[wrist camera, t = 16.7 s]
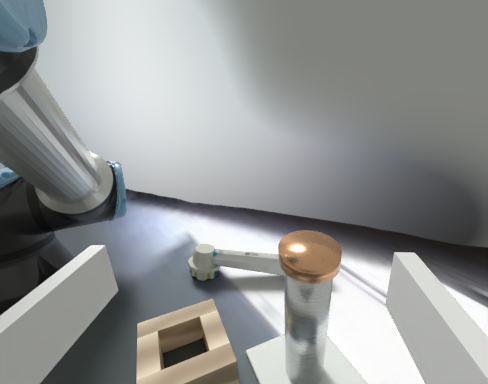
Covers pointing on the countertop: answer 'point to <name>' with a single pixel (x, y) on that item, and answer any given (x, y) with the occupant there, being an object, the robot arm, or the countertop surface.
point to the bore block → (179, 334)
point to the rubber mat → (274, 372)
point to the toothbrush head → (230, 262)
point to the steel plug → (307, 301)
